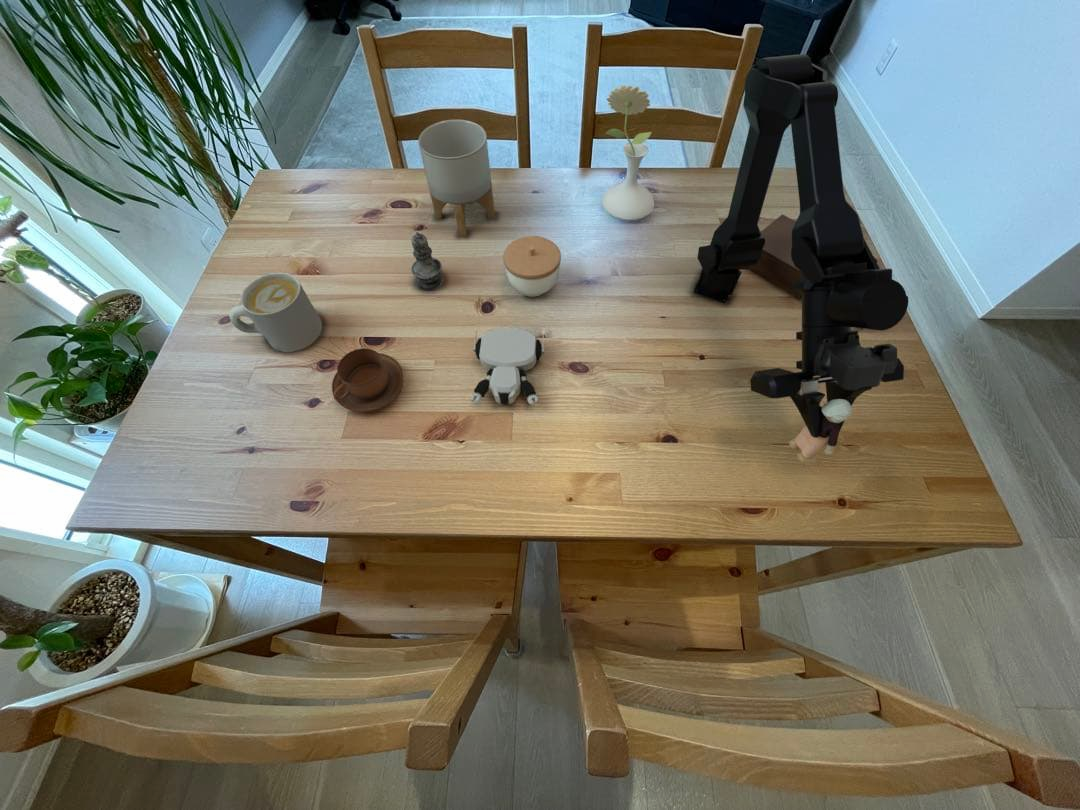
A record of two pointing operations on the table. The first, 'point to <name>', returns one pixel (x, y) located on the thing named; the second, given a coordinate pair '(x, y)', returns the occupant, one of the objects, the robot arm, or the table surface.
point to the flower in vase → (629, 160)
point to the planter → (457, 168)
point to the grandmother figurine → (822, 431)
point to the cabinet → (779, 256)
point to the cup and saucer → (366, 380)
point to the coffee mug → (278, 312)
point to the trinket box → (532, 264)
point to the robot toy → (507, 363)
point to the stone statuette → (425, 265)
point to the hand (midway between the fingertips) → (824, 435)
